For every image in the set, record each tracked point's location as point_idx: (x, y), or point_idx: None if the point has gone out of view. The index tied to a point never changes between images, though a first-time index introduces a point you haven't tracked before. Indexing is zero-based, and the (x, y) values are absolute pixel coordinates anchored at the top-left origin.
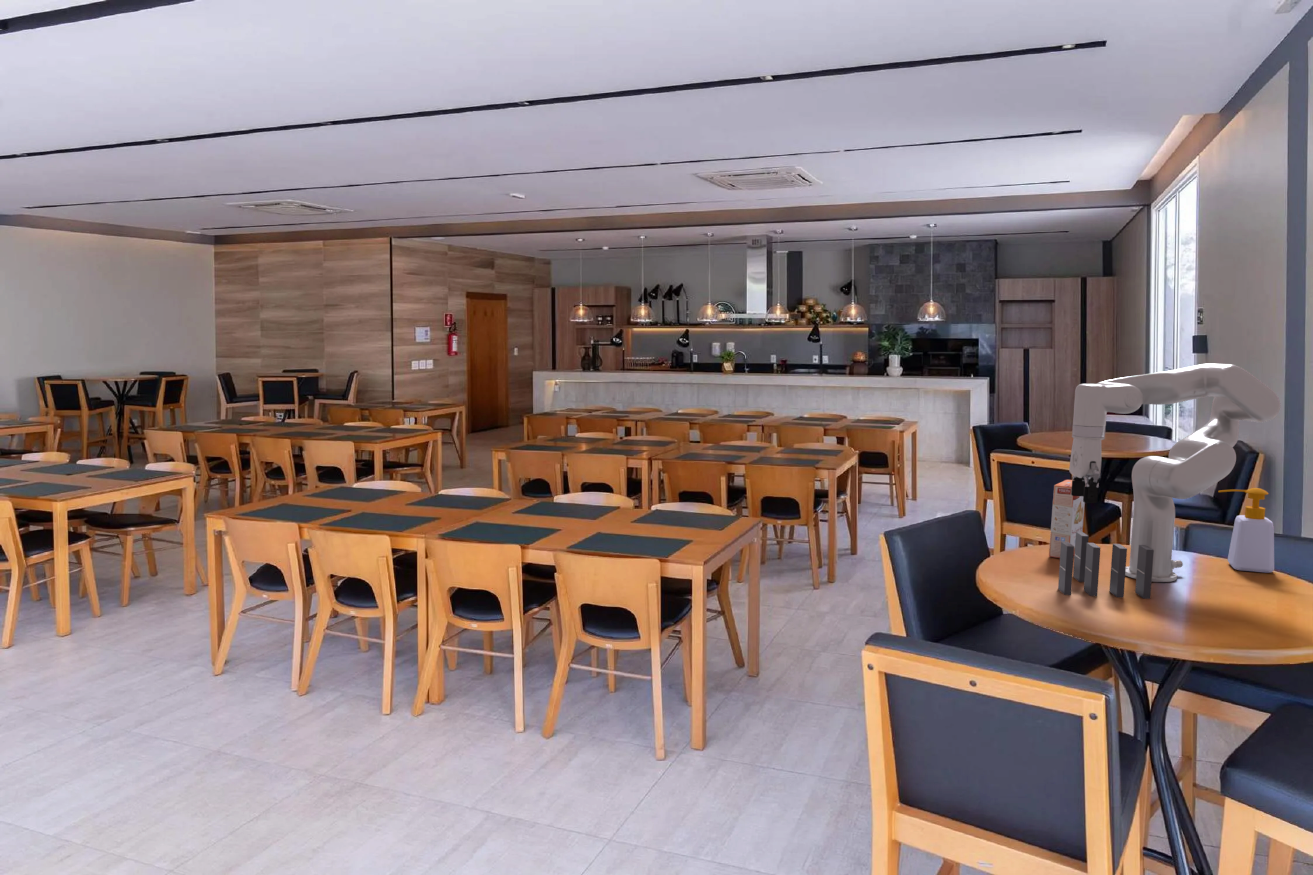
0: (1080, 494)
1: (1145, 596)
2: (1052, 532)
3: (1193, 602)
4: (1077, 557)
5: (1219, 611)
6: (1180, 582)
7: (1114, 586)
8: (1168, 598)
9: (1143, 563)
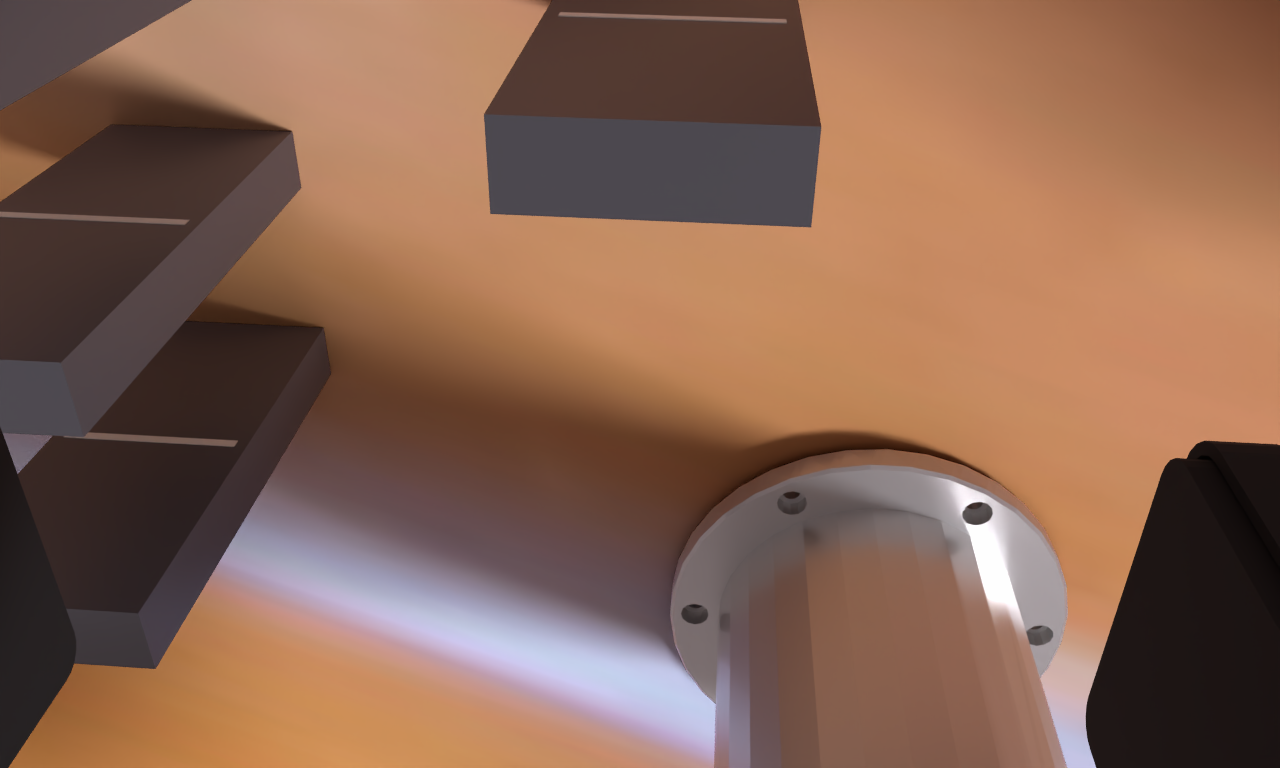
0: (1120, 671)
1: None
2: None
3: None
4: (669, 14)
5: None
6: (709, 708)
7: (139, 155)
8: None
9: (55, 491)
